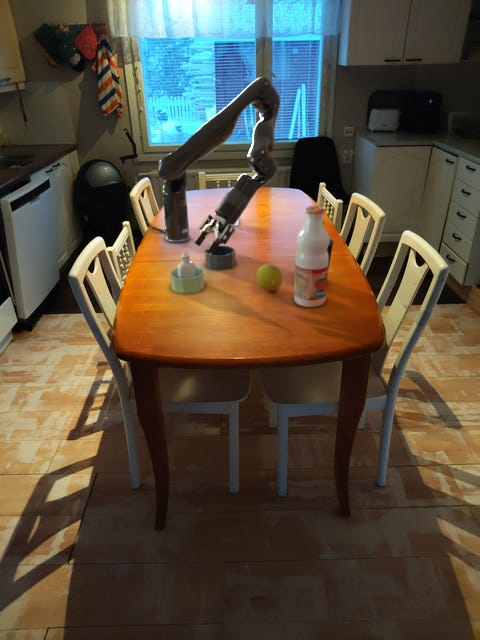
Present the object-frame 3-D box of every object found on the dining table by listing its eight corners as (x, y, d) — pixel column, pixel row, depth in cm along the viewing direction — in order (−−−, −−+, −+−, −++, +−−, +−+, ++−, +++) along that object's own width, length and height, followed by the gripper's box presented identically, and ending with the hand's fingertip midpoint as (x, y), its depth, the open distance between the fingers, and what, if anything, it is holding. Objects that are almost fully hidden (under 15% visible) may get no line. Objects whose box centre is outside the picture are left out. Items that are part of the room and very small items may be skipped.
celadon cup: (166, 285, 149) (164, 271, 147) (193, 277, 155) (192, 263, 152) (182, 296, 142) (181, 281, 140) (210, 287, 147) (209, 273, 145)
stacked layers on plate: (238, 225, 203) (237, 213, 200) (217, 225, 203) (217, 213, 200) (238, 218, 212) (238, 207, 209) (219, 219, 212) (218, 207, 209)
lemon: (285, 295, 141) (286, 271, 138) (260, 297, 140) (260, 273, 136) (277, 280, 151) (277, 258, 147) (253, 283, 150) (253, 260, 146)
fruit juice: (297, 292, 143) (301, 202, 129) (327, 295, 140) (334, 204, 127) (290, 305, 135) (294, 211, 122) (322, 309, 133) (330, 214, 119)
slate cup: (200, 263, 166) (199, 250, 163) (223, 256, 171) (223, 243, 168) (216, 272, 158) (216, 258, 156) (240, 264, 164) (240, 251, 161)
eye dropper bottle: (179, 284, 150) (175, 249, 144) (196, 283, 151) (193, 248, 145) (179, 290, 146) (176, 254, 140) (197, 288, 147) (194, 253, 141)
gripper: (252, 218, 142) (221, 261, 143) (228, 208, 153) (200, 248, 153) (237, 204, 137) (205, 248, 138) (213, 194, 148) (184, 235, 148)
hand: (202, 248), depth 145 cm, fingers open, 8 cm apart
